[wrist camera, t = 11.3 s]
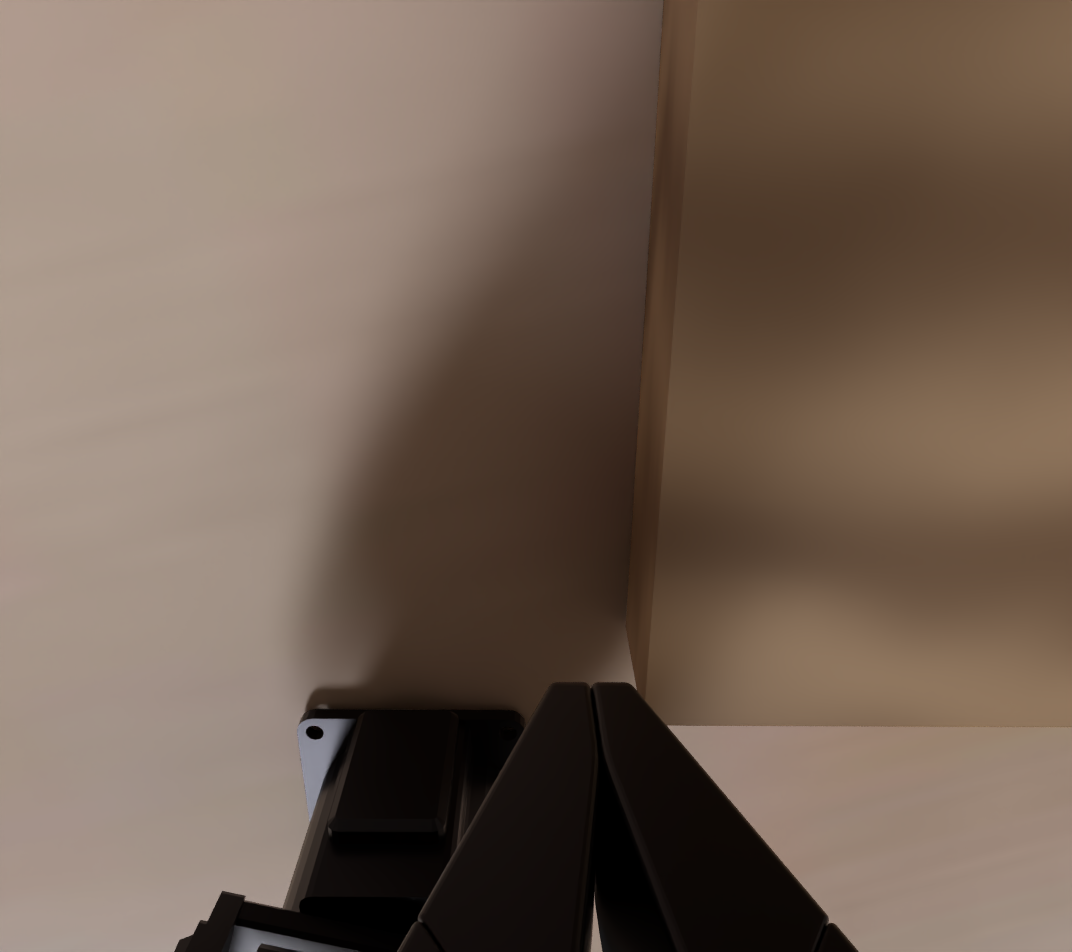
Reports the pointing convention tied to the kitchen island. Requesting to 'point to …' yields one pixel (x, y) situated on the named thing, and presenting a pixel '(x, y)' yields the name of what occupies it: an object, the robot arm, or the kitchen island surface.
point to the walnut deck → (857, 367)
